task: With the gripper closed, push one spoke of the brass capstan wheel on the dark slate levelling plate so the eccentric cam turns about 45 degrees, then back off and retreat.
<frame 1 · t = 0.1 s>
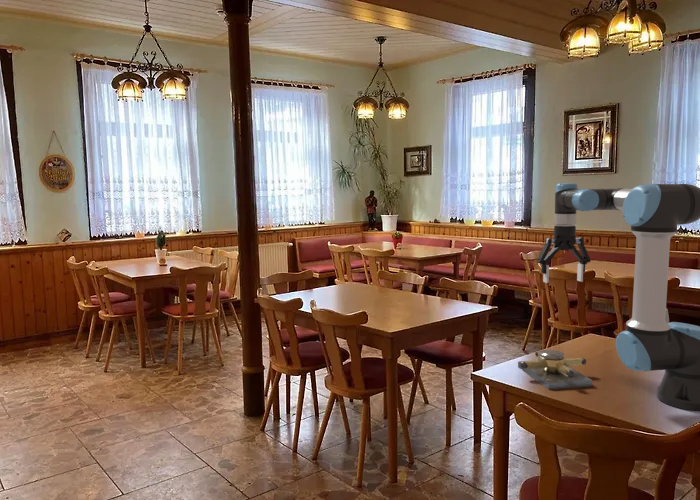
hand: (562, 281, 215), 28 cm above the table, fingers open, 13 cm apart
capstan: (553, 362, 194), point 5 cm above the table, hinge at 0.0°
wineglass: (654, 366, 203), on the table
stand: (553, 376, 194), on the table
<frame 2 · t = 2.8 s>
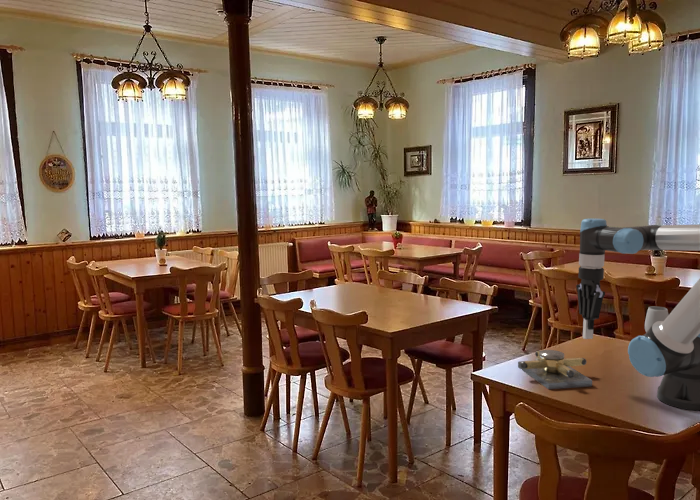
hand: (587, 338, 187), 15 cm above the table, fingers closed
nothing on the table moved.
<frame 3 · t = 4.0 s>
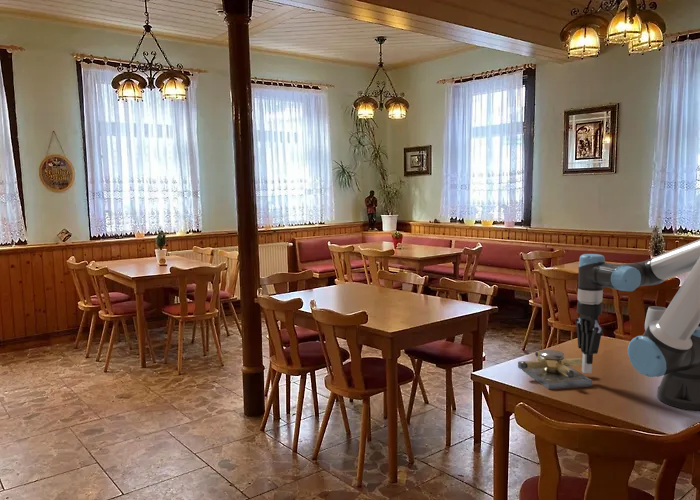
hand: (586, 372, 188), 3 cm above the table, fingers closed
nothing on the table moved.
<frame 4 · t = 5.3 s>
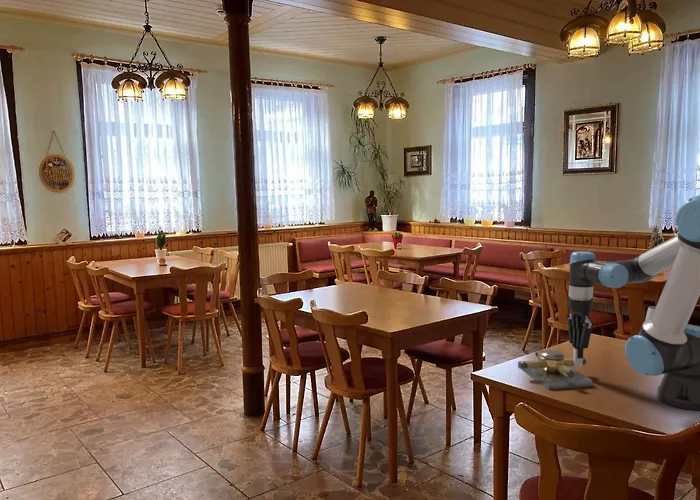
hand: (577, 366, 194), 3 cm above the table, fingers closed
capstan: (553, 362, 194), point 5 cm above the table, hinge at 0.0°, touching gripper
everything else where it was.
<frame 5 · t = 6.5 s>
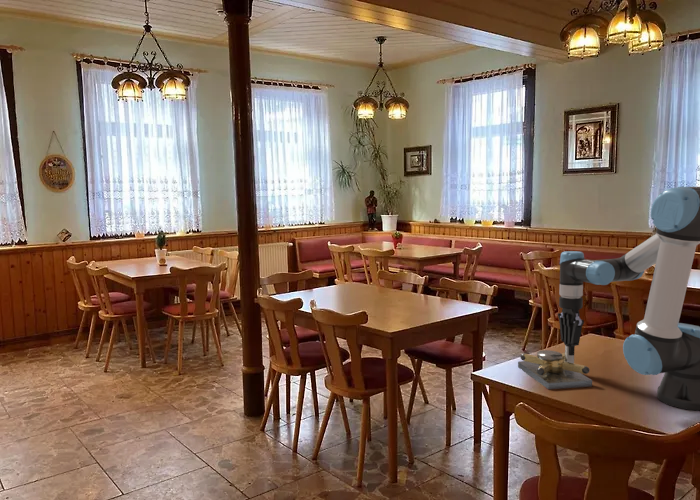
hand: (569, 363, 199), 3 cm above the table, fingers closed
capstan: (553, 362, 194), point 5 cm above the table, hinge at 39.7°, touching gripper
everything else where it was.
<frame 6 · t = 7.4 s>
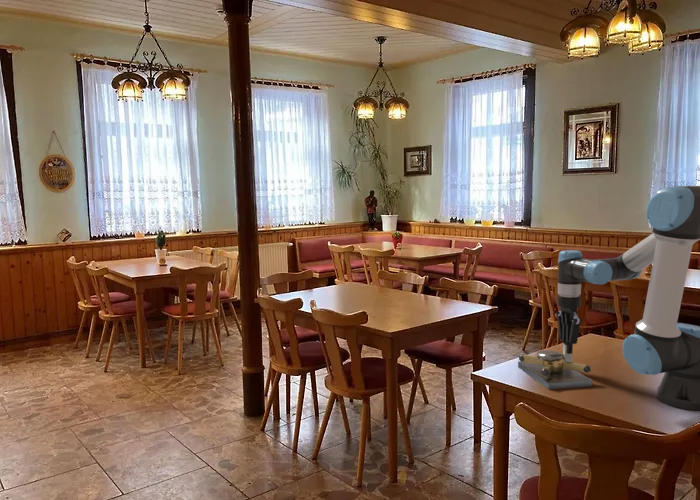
hand: (567, 361, 200), 3 cm above the table, fingers closed
capstan: (553, 362, 194), point 5 cm above the table, hinge at 47.3°, touching gripper
everything else where it was.
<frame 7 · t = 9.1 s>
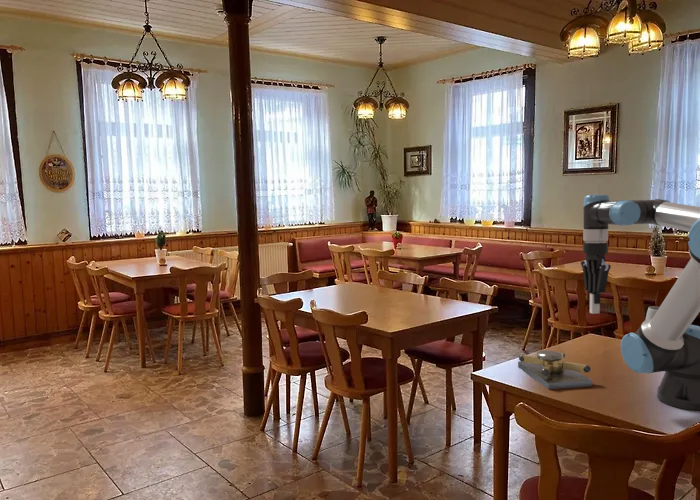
hand: (594, 313, 190), 22 cm above the table, fingers closed
capstan: (553, 362, 194), point 5 cm above the table, hinge at 47.3°
everything else where it was.
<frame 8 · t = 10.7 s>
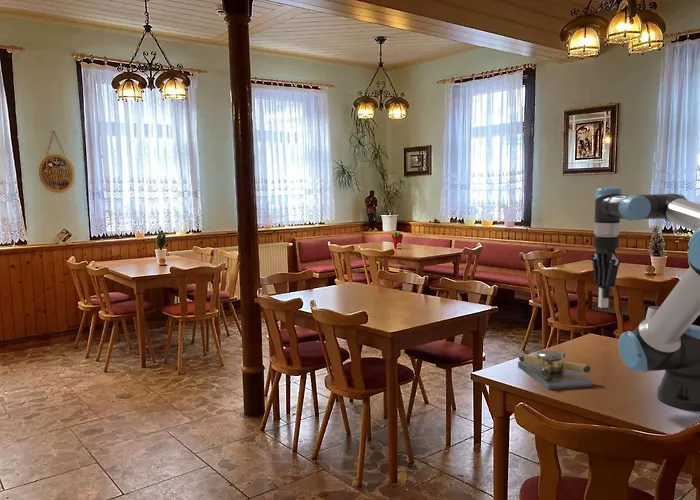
hand: (603, 307, 188), 24 cm above the table, fingers closed
nothing on the table moved.
at the end: capstan at +47° (first picture: +0°) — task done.
